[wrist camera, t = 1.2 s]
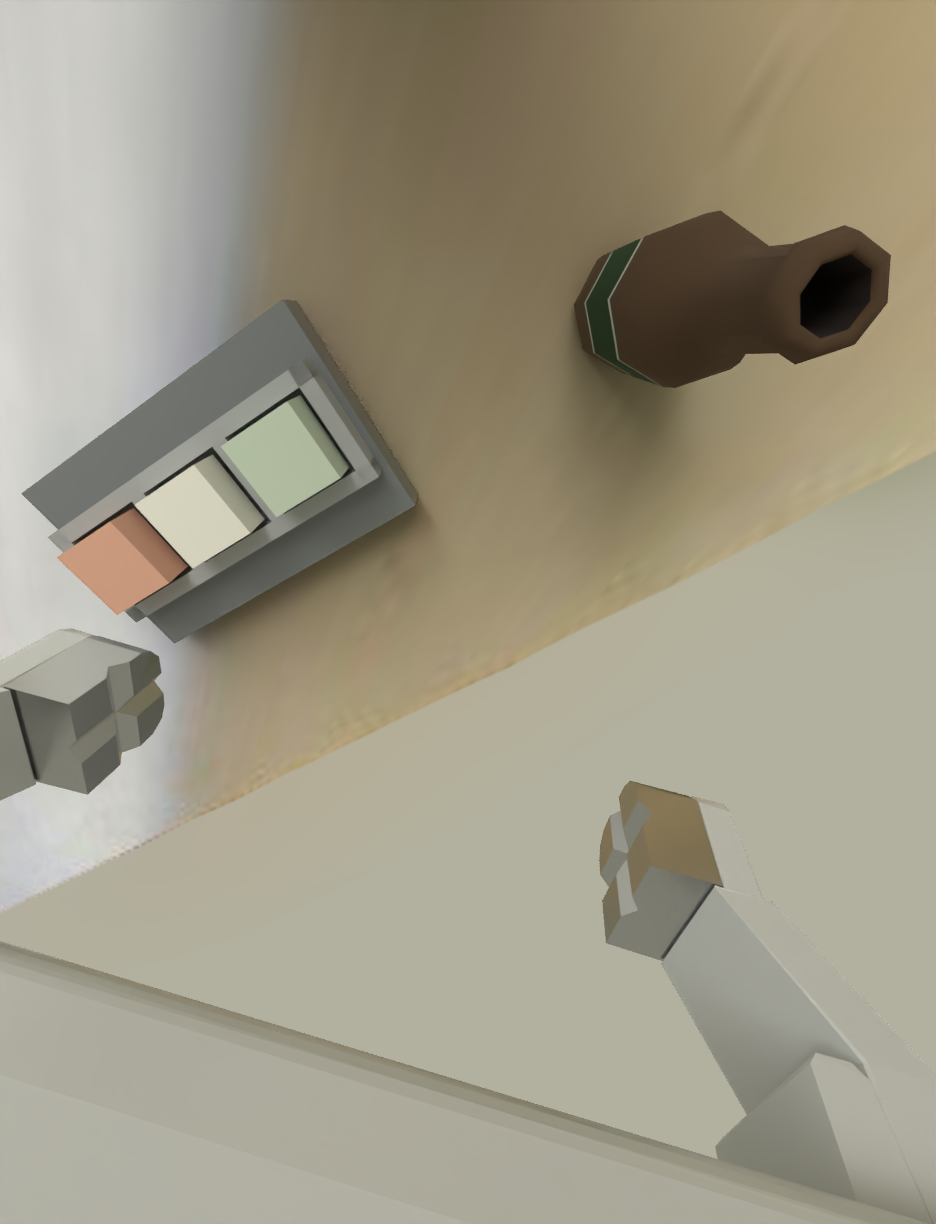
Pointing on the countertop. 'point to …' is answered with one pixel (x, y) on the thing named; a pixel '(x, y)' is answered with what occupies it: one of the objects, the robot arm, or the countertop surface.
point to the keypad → (232, 468)
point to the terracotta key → (123, 561)
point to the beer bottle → (727, 299)
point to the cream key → (201, 511)
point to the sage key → (286, 456)
